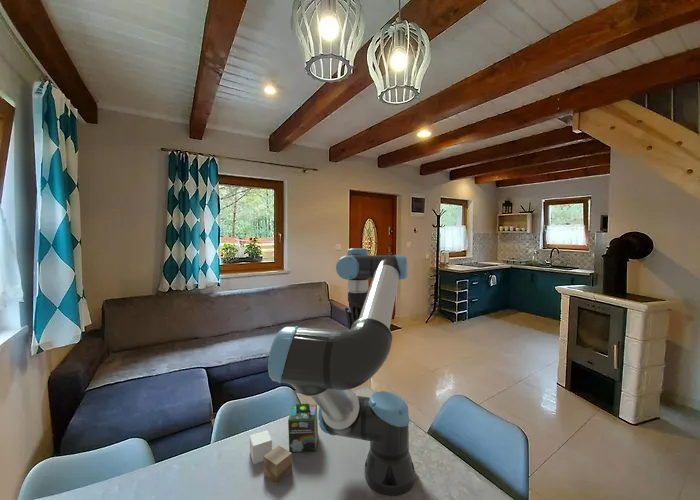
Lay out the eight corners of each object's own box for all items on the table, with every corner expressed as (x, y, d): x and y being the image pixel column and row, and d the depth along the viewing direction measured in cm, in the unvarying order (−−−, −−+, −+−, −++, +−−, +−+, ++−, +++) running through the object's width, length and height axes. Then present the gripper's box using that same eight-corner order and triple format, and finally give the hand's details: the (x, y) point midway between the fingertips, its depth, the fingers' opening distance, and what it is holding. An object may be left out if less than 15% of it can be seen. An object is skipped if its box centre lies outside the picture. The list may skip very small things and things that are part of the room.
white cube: (272, 457, 98) (271, 440, 98) (253, 464, 95) (253, 446, 95) (267, 446, 104) (267, 429, 103) (249, 452, 101) (249, 435, 101)
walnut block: (292, 472, 92) (291, 453, 92) (276, 484, 87) (276, 464, 87) (279, 463, 96) (278, 445, 96) (263, 475, 91) (263, 456, 91)
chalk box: (318, 434, 110) (317, 395, 109) (315, 452, 101) (315, 409, 100) (292, 435, 110) (292, 395, 109) (288, 453, 100) (287, 409, 100)
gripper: (378, 292, 105) (378, 358, 106) (354, 287, 115) (355, 348, 116) (362, 294, 100) (362, 364, 101) (338, 289, 111) (339, 353, 111)
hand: (358, 355), depth 108 cm, fingers closed
